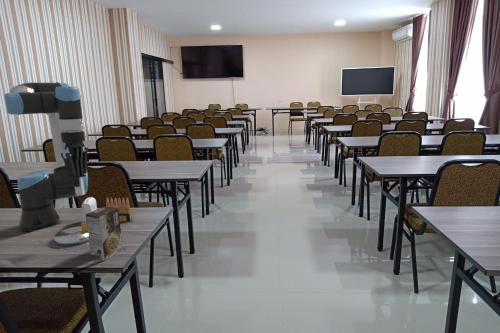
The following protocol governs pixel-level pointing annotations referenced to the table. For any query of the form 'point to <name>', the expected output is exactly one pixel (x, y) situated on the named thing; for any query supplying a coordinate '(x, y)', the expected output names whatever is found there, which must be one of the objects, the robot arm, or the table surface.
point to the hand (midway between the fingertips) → (80, 194)
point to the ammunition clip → (121, 208)
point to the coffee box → (104, 232)
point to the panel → (71, 248)
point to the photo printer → (88, 207)
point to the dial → (72, 235)
